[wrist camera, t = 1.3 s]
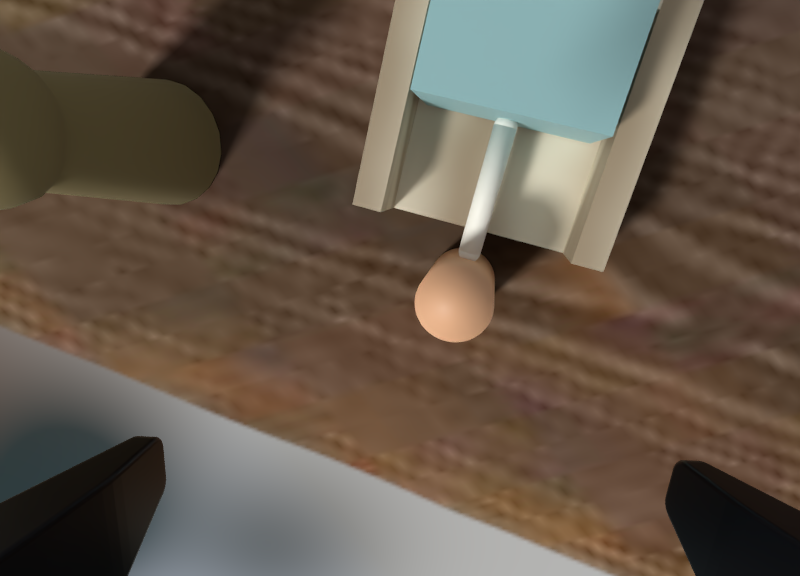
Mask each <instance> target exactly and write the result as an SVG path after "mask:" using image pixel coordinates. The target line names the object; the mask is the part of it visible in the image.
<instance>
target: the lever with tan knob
mask: <svg viewBox="0 0 800 576" xmlns="http://www.w3.org/2000/svg"><path fill="white" fill-rule="evenodd" d="M659 3H660V0H431V1H430V5H429V10H428V14H427V18H426V23H425V27H424V31H423V36H422V40H421V45H420V49H419V53H418V58H417V62H416V66H415V71H414V75H413V79H412V84H411V88H410V90H412V91H413V92H414V93H415V94H416V95H417V96H418V97H419V98H420V99H421V100H422V101H423V102H424V103H425V104H426V105H429V106H434V107H438V108H442V109H446V110H450V111H455V112H459V113H463V114H467V115H472V116H476V117H480V118H484V119H488V120H493V121H495V122H494V125H493V129H492V133H491V136H490V140H489V143H488V147H487V150H486V154H485V158H484V161H483V165H482V168H481V172H480V175H479V179H478V183H477V186H476V190H475V193H474V197H473V200H472V204H471V208H470V211H469V215H468V218H467V222H466V225H465V229H464V233H463V236H462V240H461V243H460V247H459V248H455V249H452V250H449V251H447V252H445V253H444V254H442V255H441V256H440V257H439V258H438V259H437V260H436V262H435V263H434V264H433V266H432V267H431V269H430V270H429V272H428V273H427V275H426V276H425V278H424V279H423V280H422V282H421V283H420V285H419V287H418V289H417V292H416V296H415V310H416V314H417V317H418V319H419V321H420V323H421V324H422V326H423V327H424V328H425V329H426V330H427V331H428V332H429V333H430V334H432V335H433V336H435V337H437V338H438V339H441V340H444V341H448V342H463V341H467V340H470V339H472V338H474V337H476V336H478V335H479V334H480V333H482V332H483V331H484V330H485V329H486V327H487V326H488V325H489V323H490V321H491V319H492V316H493V312H494V293H495V275H494V271H493V268H492V266H491V264H490V262H489V261H488V260H487V259H486V257H484V256H483V255H482V254H481V250H482V247H483V244H484V240H485V237H486V233H487V230H488V227H489V223H490V220H491V216H492V213H493V209H494V206H495V203H496V199H497V196H498V192H499V189H500V186H501V182H502V179H503V175H504V172H505V169H506V165H507V162H508V158H509V155H510V152H511V148H512V145H513V141H514V138H515V135H516V131H517V126H518V127H522V128H526V129H531V130H535V131H539V132H543V133H547V134H552V135H556V136H560V137H564V138H569V139H573V140H577V141H581V142H585V143H593V142H597V141H600V140H603V139H607V138H610V137H613V135H614V132H615V129H616V126H617V123H618V120H619V117H620V115H621V112H622V109H623V106H624V103H625V100H626V97H627V94H628V92H629V89H630V86H631V83H632V80H633V77H634V74H635V72H636V69H637V66H638V63H639V60H640V57H641V54H642V51H643V49H644V46H645V43H646V40H647V37H648V34H649V31H650V29H651V26H652V23H653V20H654V17H655V14H656V11H657V8H658V6H659Z"/></svg>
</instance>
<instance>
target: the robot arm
mask: <svg viewBox="0 0 800 576" xmlns="http://www.w3.org/2000/svg"><path fill="white" fill-rule="evenodd" d="M164 462H165V461H164V450H163V444H162V441H161V440H160V439H159V438H158V437H144V436H136V437H133V438H131V439H128V440H126V441H124V442H123V443H120V444H118V445H116V446H115V447H112V448H110V449H108V450H106V451H104V452H103V453H100V454H98V455H96V456H94V457H92V458H90V459H88V460H86V461H84V462H82V463H80V464H78V465H76V466H74V467H72V468H70V469H68V470H66V471H64V472H62V473H60V474H58V475H56V476H54V477H52V478H50V479H48V480H46V481H44V482H42V483H40V484H38V485H36V486H34V487H32V488H30V489H28V490H26V491H24V492H22V493H20V494H18V495H16V496H14V497H12V498H10V499H8V500H6V501H4V502H2V503H0V576H128V574H129V572H130V570H131V567H132V565H133V563H134V560H135V558H136V556H137V554H138V551H139V549H140V546H141V544H142V542H143V539H144V537H145V535H146V532H147V530H148V528H149V525H150V523H151V521H152V518H153V516H154V514H155V511H156V509H157V506H158V504H159V502H160V499H161V497H162V495H163V492H164V489H165V484H166V472H165V463H164ZM665 505H666V510H667V513H668V516H669V518H670V520H671V523H672V525H673V527H674V529H675V531H676V534H677V536H678V538H679V540H680V542H681V545H682V547H683V549H684V551H685V553H686V556H687V558H688V560H689V562H690V564H691V567H692V569H693V571H694V573H695V575H696V576H800V511H799V510H797V509H795V508H793V507H791V506H789V505H787V504H785V503H783V502H781V501H779V500H777V499H776V498H774V497H772V496H770V495H768V494H766V493H764V492H762V491H760V490H758V489H756V488H754V487H752V486H750V485H748V484H746V483H744V482H742V481H740V480H738V479H736V478H735V477H733V476H731V475H729V474H727V473H725V472H723V471H721V470H719V469H717V468H715V467H713V466H711V465H709V464H707V463H705V462H702V461H687V460H681V461H679V462H677V463H676V464H675V466H674V468H673V472H672V476H671V479H670V483H669V487H668V490H667V494H666V499H665Z"/></svg>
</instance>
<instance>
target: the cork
mask: <svg viewBox="0 0 800 576" xmlns="http://www.w3.org/2000/svg"><path fill="white" fill-rule="evenodd" d="M220 157H221V144H220V133H219V130H218V127H217V125H216V122H215V119H214V117H213V114H212V112H211V111H210V110H209V108H208V107H207V106H206V104H205V103H204V101H203V100H202V99H201V97H200V96H198V95H197V94H196V93H194V92H193V91H192V90H190V89H189V88H188V87H186V86H185V85H182V84H179V83H176V82H173V81H170V80H166V79H152V78H137V77H123V76H109V75H94V74H80V73H66V72H51V71H37V70H32V69H31V68H30V67H28V66H27V65H26V64H25V63H23V62H22V61H21V60H19V59H18V58H16V57H14V56H12V55H11V54H9V53H7V52H5V51H3V50H1V49H0V210H4V209H11V208H14V207H17V206H19V205H22V204H25V203H27V202H30V201H32V200H35V199H37V198H40V197H42V196H43V195H44V194H45V193H54V194H65V195H75V196H85V197H95V198H105V199H116V200H126V201H136V202H146V203H157V204H180V205H181V204H184V203H187V202H189V201H192V200H195V199H197V198H198V197H199V196H200V195H201V194H202V193H204V192H205V191H206V190H207V189H208V188H209V187H210V185H211V183H212V181H213V180H214V178H215V176H216V174H217V172H218V168H219V163H220Z"/></svg>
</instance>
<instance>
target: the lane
mask: <svg viewBox="0 0 800 576" xmlns="http://www.w3.org/2000/svg"><path fill="white" fill-rule="evenodd" d="M430 1H431V0H395V5H394V9H393V14H392V19H391V24H390V29H389V33H388V38H387V43H386V48H385V52H384V57H383V62H382V67H381V71H380V76H379V81H378V86H377V90H376V95H375V100H374V105H373V109H372V114H371V119H370V124H369V128H368V133H367V138H366V143H365V147H364V152H363V157H362V162H361V166H360V171H359V176H358V181H357V185H356V190H355V195H354V200H353V205H357V206H360V207H364V208H368V209H371V210H375V211H379V212H382V211H385V210H388V209H391V208H397V209H401V210H405V211H409V212H412V213H416V214H420V215H424V216H427V217H431V218H435V219H439V220H442V221H446V222H450V223H453V224H457V225H461V226H465V225H466V222H467V218H468V215H469V211H470V208H471V204H472V200H473V197H474V193H475V190H476V186H477V183H478V179H479V175H480V172H481V168H482V165H483V161H484V158H485V154H486V150H487V147H488V143H489V140H490V136H491V133H492V129H493V125H494V122H495V121H493V120H488V119H484V118H480V117H476V116H472V115H467V114H463V113H459V112H455V111H450V110H446V109H442V108H438V107H434V106H429V105H426V104H425V103H424V102H423V101H422V100H421V99H420V98H419V97H418V96H417V95H416V94H415V93H414V92H413V91H412V90H410V88H411V84H412V79H413V75H414V71H415V66H416V62H417V58H418V53H419V49H420V45H421V40H422V36H423V31H424V27H425V23H426V18H427V14H428V10H429V5H430ZM703 2H704V0H660V3H659V6H658V8H657V11H656V14H655V17H654V20H653V23H652V26H651V29H650V31H649V34H648V37H647V40H646V43H645V46H644V49H643V51H642V54H641V57H640V60H639V63H638V66H637V69H636V72H635V74H634V77H633V80H632V83H631V86H630V89H629V92H628V94H627V97H626V100H625V103H624V106H623V109H622V112H621V115H620V117H619V120H618V123H617V126H616V129H615V132H614V135H613V137H610V138H607V139H603V140H600V141H597V142H593V143H585V142H581V141H577V140H573V139H569V138H564V137H560V136H556V135H552V134H547V133H543V132H539V131H535V130H531V129H526V128H522V127H518V126H517V131H516V135H515V138H514V141H513V145H512V148H511V152H510V155H509V158H508V162H507V165H506V169H505V172H504V175H503V179H502V182H501V186H500V189H499V192H498V196H497V199H496V203H495V206H494V209H493V213H492V216H491V220H490V223H489V227H488V230H487V233H491V234H495V235H498V236H502V237H506V238H509V239H513V240H517V241H521V242H524V243H528V244H532V245H536V246H539V247H543V248H547V249H551V250H554V251H558V252H562V253H563V254H564V255H565V256H566V258H567V259H568V260H569V261H570V263H571V264H575V265H579V266H583V267H586V268H590V269H594V270H597V271H601V272H603V271H604V268H605V266H606V263H607V260H608V258H609V255H610V252H611V249H612V247H613V244H614V241H615V239H616V236H617V233H618V231H619V228H620V225H621V223H622V220H623V217H624V214H625V212H626V209H627V206H628V204H629V201H630V198H631V196H632V193H633V190H634V188H635V185H636V182H637V180H638V177H639V174H640V171H641V169H642V166H643V163H644V161H645V158H646V155H647V153H648V150H649V147H650V145H651V142H652V139H653V136H654V134H655V131H656V128H657V126H658V123H659V120H660V118H661V115H662V112H663V110H664V107H665V104H666V101H667V99H668V96H669V93H670V91H671V88H672V85H673V83H674V80H675V77H676V75H677V72H678V69H679V66H680V64H681V61H682V58H683V56H684V53H685V50H686V48H687V45H688V42H689V40H690V37H691V34H692V31H693V29H694V26H695V23H696V21H697V18H698V15H699V13H700V10H701V7H702V5H703Z"/></svg>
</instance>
